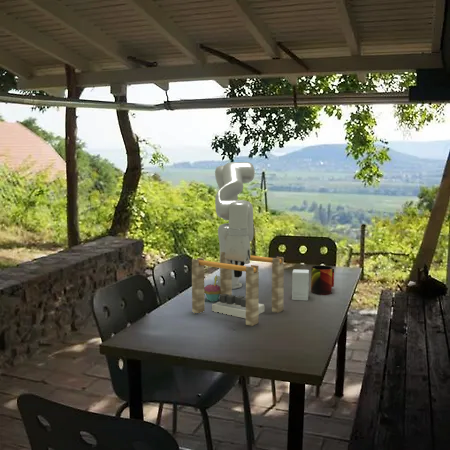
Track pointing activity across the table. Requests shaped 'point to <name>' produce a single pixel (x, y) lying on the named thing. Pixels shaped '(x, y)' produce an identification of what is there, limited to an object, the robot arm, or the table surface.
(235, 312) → the breaker panel
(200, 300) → the wooden post rack
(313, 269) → the mug
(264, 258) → the orange cylindrical bar
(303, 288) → the supplement box
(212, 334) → the table surface
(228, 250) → the robot arm
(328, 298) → the table surface
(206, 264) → the orange rounded rod
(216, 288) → the cupcake
